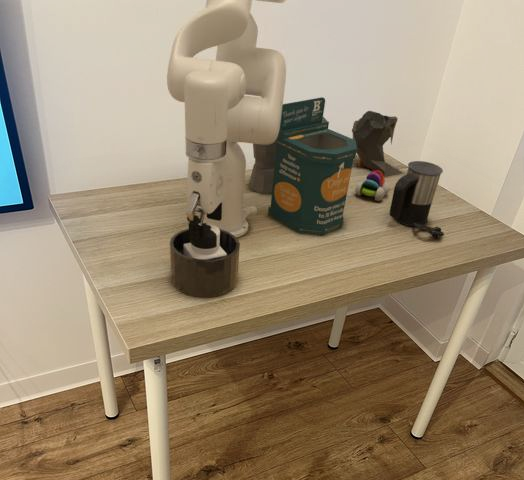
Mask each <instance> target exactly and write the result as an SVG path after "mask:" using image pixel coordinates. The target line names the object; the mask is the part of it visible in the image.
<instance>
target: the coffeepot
mask: <svg viewBox="0 0 524 480" xmlns="http://www.w3.org/2000/svg"><path fill="white" fill-rule="evenodd" d="M252 151H253V159H254V163H253V166H252V171H251V175H250V179H249V182H248V185H249V188H250V190H252V191H253V192H256V193H259V194H265V195H266V194H267V195H268V194H272V187H273V177H274V166H275V156H276V146H275V142H274V143H272V144H269V145H262V144H252Z"/></svg>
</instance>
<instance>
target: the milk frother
mask: <svg viewBox="0 0 524 480" xmlns="http://www.w3.org/2000/svg"><path fill="white" fill-rule="evenodd" d="M407 167H408V168H407V171H406V174H404V175H402V176H401V177H400V178H399V179H398V180H397V182H396V183H395V186H394V187H393V194H392V199H391V202H390V208H389V216H390V217H392V218H394V219H395V220H396V222H398V223H400V224H402V225H405V226H409V227H415V228H416V229H418V230H420V231H424V232H425V233H426V232H427V233H428V234H430V235H431V236H432V237H433V238H434V237H435V238H439V237H443V236H444V235H445V232H443V231H442V228H441V227H439V226H434V227H432V226H427V224H428V222H429V221H428V219H429V218H428V217H429V215H430V212H431V211H430V210H431V208H432V204H433V201H434V197H435V195H436V191H437V187H438V185H439V182H440V178H441V176H442V175H441V174H443V173H444V170H443V168H442V167H441V166H440V165H437V164H435V163H433V162H429V161H424V160H413V161H410V162H408V163H407Z"/></svg>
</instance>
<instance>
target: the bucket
mask: <svg viewBox="0 0 524 480" xmlns="http://www.w3.org/2000/svg"><path fill="white" fill-rule="evenodd" d="M219 230H220V247H221V248H222V249H223V250H224V251H225V252H226V254H227V256H225V257H223V258H218V259H210V260H204V259H195V258H191V257H188V256H185V255H184V252H183V245H184V244H186V243H190V240H189V227H188V228H185V229H181V230H179V231H177V232H176V233H174V235H173V236H172V237H171V238H170V241H169V259H170V260H169V262H170V279H171V282H172V284H173V285H174V286H175V288H176V289H178V290H180V291H181V292H183V293H186V294H188V295H190V296H194V297H195V296H196V297H204V298H209V297H217V296H220V295H223V294H225V293H228V292H230V291H231V290H232V289H234V288H235V287H236V285H237V284H238V282H239V281H238V279H239V267H240V266H239V265H240V264H239V263H240V249H241V248H240V247H241V243H240V241H239V239H238V237H237V238H236V237H235V236H234V235H233V234H231V233H229V232H227V231H225V230H222V229H219Z"/></svg>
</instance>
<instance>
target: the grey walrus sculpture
mask: <svg viewBox="0 0 524 480" xmlns="http://www.w3.org/2000/svg"><path fill="white" fill-rule="evenodd" d="M397 122H398V117H397V116H388V115H383V114H381V113H380V112H376V111H373V110H367V111H365V113H364V114H363V115H362V116H361V117H360V118H359V119H357V120H355V121H354V122H353V125H352V128H351V133H352V139H354V140H355V141H356V146H357V152H356V155H357V156H358V163H357V166H358V167H360V168H366V169H369V170H371V171H372V172H373V171H375V170H379V171H381V172H382V174H383V177H384V178H385V177H389V176H394V175H400V174H403V172H402V171H400V170H398V169H397V168H396V167H394V166H393V165H391V164H389V163H388V162H386V161H385V153H384V145H385V144H386V143H387V142H388V141H389V139H390V145H392V143H393V138H394V133H395V128H396V125H397Z"/></svg>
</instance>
